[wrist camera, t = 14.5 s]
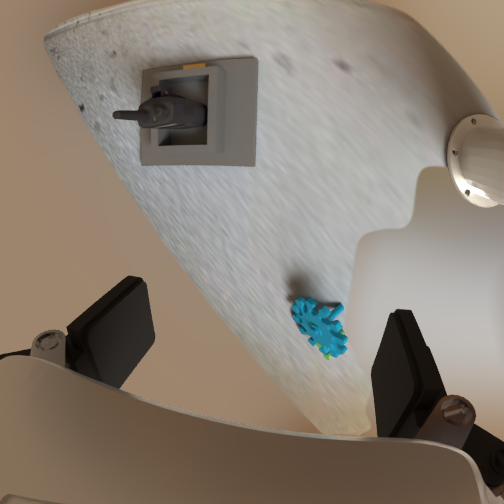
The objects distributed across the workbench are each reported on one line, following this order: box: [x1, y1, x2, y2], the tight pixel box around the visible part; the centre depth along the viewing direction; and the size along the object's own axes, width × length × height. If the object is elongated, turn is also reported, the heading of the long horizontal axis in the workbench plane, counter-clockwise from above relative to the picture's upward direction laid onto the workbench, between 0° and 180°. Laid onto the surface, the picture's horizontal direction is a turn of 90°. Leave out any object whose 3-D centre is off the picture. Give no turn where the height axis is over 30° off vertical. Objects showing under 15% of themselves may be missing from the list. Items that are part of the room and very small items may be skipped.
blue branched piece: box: [291, 297, 348, 360], centre depth 40 cm, size 11×6×10 cm
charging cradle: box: [141, 58, 258, 167], centre depth 33 cm, size 16×14×4 cm
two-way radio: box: [113, 86, 208, 130], centre depth 27 cm, size 6×4×15 cm
